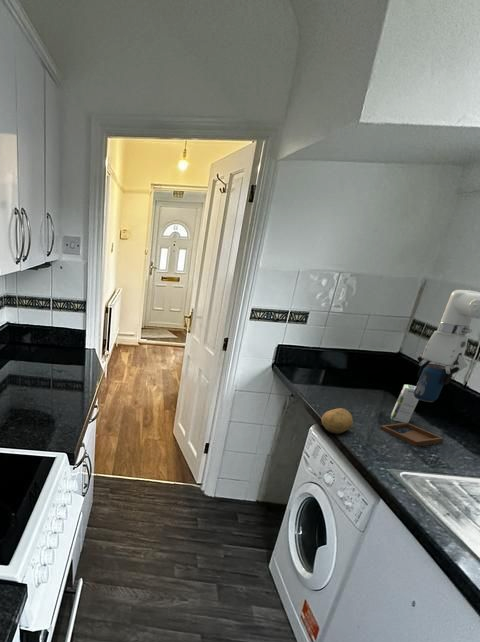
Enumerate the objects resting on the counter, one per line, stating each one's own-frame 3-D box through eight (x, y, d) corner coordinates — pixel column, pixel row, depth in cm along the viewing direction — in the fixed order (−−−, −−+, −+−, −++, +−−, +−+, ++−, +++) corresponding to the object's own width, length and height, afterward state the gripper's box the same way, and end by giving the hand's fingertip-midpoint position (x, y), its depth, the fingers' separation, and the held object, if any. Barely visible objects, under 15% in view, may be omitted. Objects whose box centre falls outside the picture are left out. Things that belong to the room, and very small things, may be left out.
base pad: (441, 443, 148) (443, 438, 147) (414, 447, 144) (416, 441, 143) (405, 427, 159) (407, 422, 159) (379, 430, 155) (381, 425, 154)
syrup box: (389, 416, 168) (403, 383, 162) (406, 420, 166) (421, 387, 160) (390, 421, 164) (404, 387, 158) (408, 425, 161) (423, 391, 155)
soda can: (437, 399, 146) (451, 367, 141) (434, 404, 141) (448, 370, 136) (414, 393, 150) (427, 362, 145) (410, 398, 145) (423, 365, 141)
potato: (312, 431, 151) (318, 412, 147) (325, 421, 160) (332, 402, 156) (340, 442, 145) (348, 421, 141) (353, 431, 154) (360, 411, 150)
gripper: (489, 335, 129) (466, 388, 136) (433, 323, 144) (414, 372, 151) (473, 335, 127) (450, 390, 134) (418, 324, 142) (400, 373, 149)
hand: (431, 380), depth 143 cm, fingers closed on soda can, 7 cm apart
